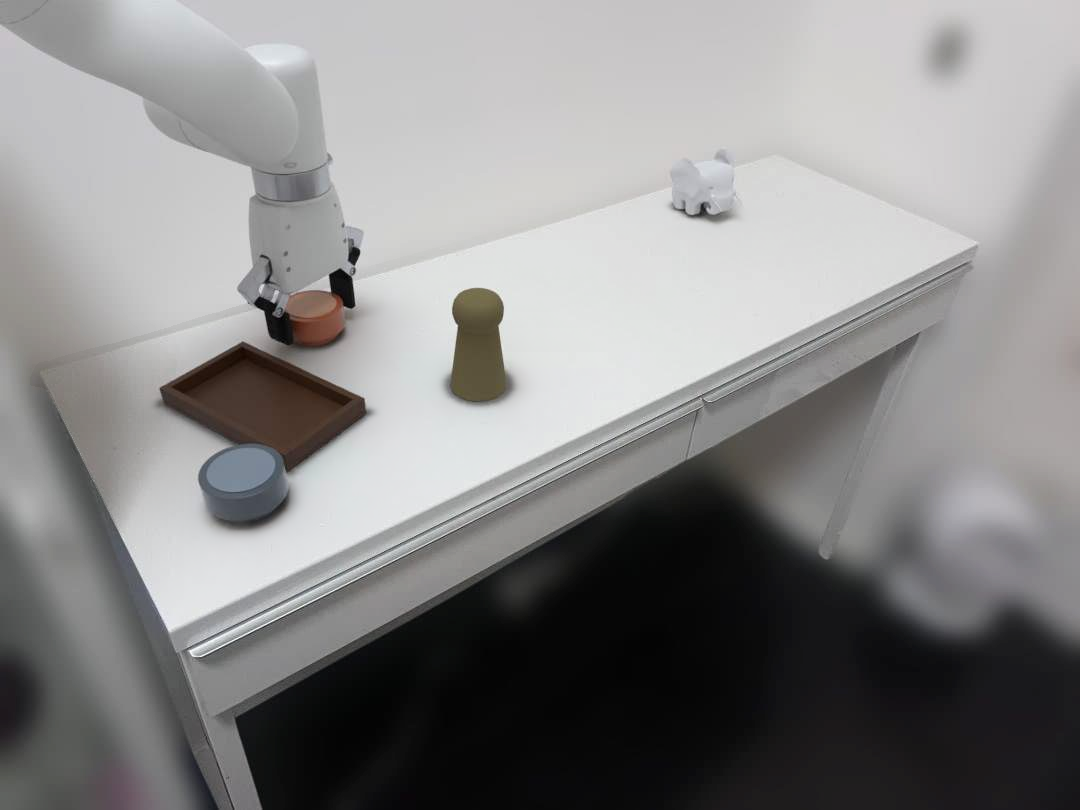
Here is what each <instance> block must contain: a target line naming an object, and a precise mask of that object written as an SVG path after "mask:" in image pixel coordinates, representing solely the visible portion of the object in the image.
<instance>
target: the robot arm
mask: <svg viewBox="0 0 1080 810" xmlns="http://www.w3.org/2000/svg"><path fill="white" fill-rule="evenodd" d="M0 25H1V26H2V27H4V28H5V29H6V30H8V31H9V32H11V33H13V34H14V35H15V36H17V37H18V38H20V39H21V40H22V41H24V42H26V43H27V44H29V45H30V46H32V47H33V48H35V49H36V50H38V51H40V52H42V53H45V54H46V55H48V56H49V57H51V58H54V59H56V60H57V61H60V62H61V63H63V64H65V65H67V66H69V67H71V68H73V69H76V70H77V71H80V72H83V73H84V74H87V75H90V76H93V77H94V78H98V79H100V80H102V81H105V82H108V83H110V84H113V85H115V86H118V87H120V88H122V89H124V90H127V91H128V92H131V93H133V94H136V95H138V96H139V97H142V105H143V108H144V112H145V114H146V116H147V118H148V120H149V121H150V122H151V124H152V126H154V127H155V128H156V129H157V130H158V131H159V132H160V133H162V134H163V135H165V136H166V137H168V138H169V139H171V140H173V141H176V142H177V143H180V144H183V145H186V146H188V147H191V148H194V149H197V150H200V151H202V152H205V153H209V154H212V155H215V156H217V157H221V158H223V159H226V160H228V161H231V162H234V163H237V164H240V165H242V166H245V167H249V168H250V171H251V176H252V183H253V186H254V193H255V194H254V195H252V196H251V197H249V204H248V238H249V246H250V247H249V249H250V256H251V263H252V268H251V269H250V270H249V271H248V273H247V274H246V275H245V277H244V278H243V279H242V280H241V281H240V282H239V284H238V285H237V287H236V290H237V292H238V293H239V294H240V296H242V298H243V299H244V300H245V301H246V302H247V304H248V305H250V306H252V307H254V308H257V309H258V310H259V311H263V314H264V318H265V324H266V328H267V329H266V330H267V333H268V335H269V337H270V339H272V340H274V341H275V342H278V343H280V344H283V345H285V346H287V347H290V346H292V345H294V343H295V341H294V338H293V332H292V326H291V321H290V315H289V314H288V313H286V312H284V310H285V308H286V305H287V303H288V300H289V298H290V295H293V294H295V293H298V292H300V291H302V290H303V289H305V288H307V287H309V286H310V285H312V284H314V283H316V282H318V281H320V280H322V279H324V278H326V277H328V281H329V286H330V287H329V288H330V292H332V293H334V294H336V295H338V296H339V297H340V298H341V299H342V301H343V307H344V308H346V309H350V310H352V309H354V308H355V307H357V306H356V305H357V304H356V298H355V288H354V280H353V277H354V276H356V273H357V267H356V264H357V262H358V260H359V259H360V256H361V249H360V248H361V246H362V243H363V238H364V230H362V229H360V228H357V227H355V226H351V225H350V226H349V225H346V222H345V217H344V212H343V209H342V205H341V201H340V198H339V195H338V191H337V188H336V186H335V183H334V182H333V181H331V174H330V166H331V165H332V164H333V162H334V161H333V157H332V155H331V154H330V153H329V152H328V149H327V140H326V133H325V125H324V117H323V108H322V101H321V92H320V85H319V76H318V70H317V65H316V62H315V58H314V57H313V55H312V54H311V53H310V52H309V51H308V50H307V49H305V48H303V47H302V46H299V45H295V44H290V43H280V42H279V43H278V42H275V43H274V42H271V43H269V42H268V43H260V44H259V43H258V44H254V45H250V46H247V47H245V48H244V47H243V46H241V45H240V44H239V43H238V42H237V41H236V40H234V39H232V37H230V36H229V35H228V34H226V33H225V32H224V31H222V30H221V29H219V28H218V27H216V26H215V25H214V24H212V23H211V22H209V21H208V20H206V19H205V18H204V17H202V16H201V15H199V14H198V13H196V12H195V11H193V10H192V9H190V8H188V7H187V6H186V5H184V4H182V3H181V2H179V1H178V0H0ZM262 285H264V286H263V288H262V291H261V292H260V287H261V286H262ZM276 291H277V292H278V294H277V296H276V298H275V301H274V302H273V301H272V300H273V297H274V295H275V292H276Z"/></svg>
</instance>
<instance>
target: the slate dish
mask: <svg viewBox="0 0 1080 810" xmlns="http://www.w3.org/2000/svg"><path fill="white" fill-rule="evenodd" d="M197 481H198V485H199V488H200V492H201V495H202V498H203V503H204V505H205V508H206V509H207V510H208V511H209V513H211V514H212V515H213V516H215V517H217V518H219V519H222V520H226V521H229V522H232V523H238V524H247V523H252V522H257V521H259V520H262V519H264V518H266V517H268V516H269V515H270V514H272V513H273V512H274V511H275V510H276V508H277V507H279V506H280V505H281V504H282V503H283V501H284V500H285V499H286V497H287V494H288V492H289V480H288V475H287V471H286V470H285V465H284V461H283V458H282V456H281V455H280V454H279V453H278V452H277V451H276V450H274V449H273V448H271V447H268V446H265V445H261V444H241V445H239V444H237V445H232V446H228V447H226V448H224V449H221V450H219V451H217V452H216V453H214V454H213V455H211V456H210V457H208V459H206V460H205V461H204V463H203V464H202V465H201V467H200V469H199V471H198V475H197Z"/></svg>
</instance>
